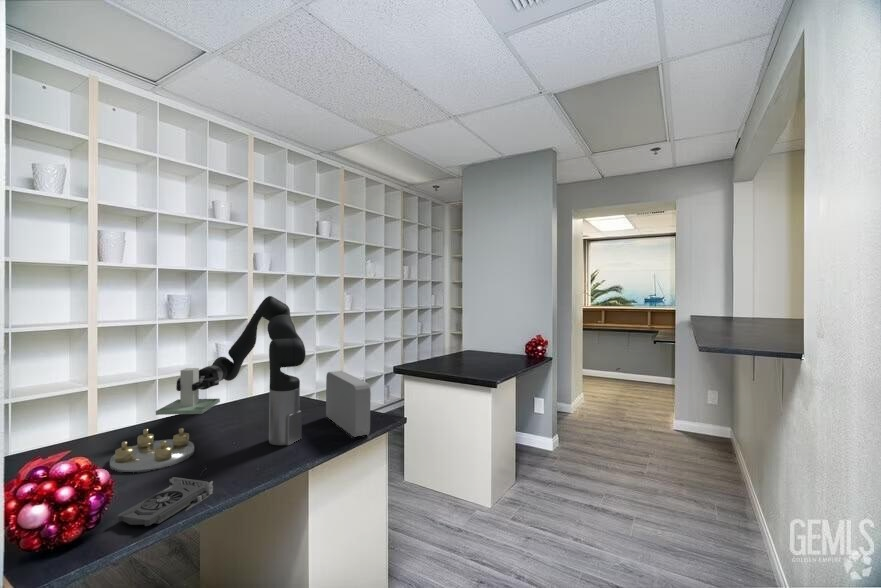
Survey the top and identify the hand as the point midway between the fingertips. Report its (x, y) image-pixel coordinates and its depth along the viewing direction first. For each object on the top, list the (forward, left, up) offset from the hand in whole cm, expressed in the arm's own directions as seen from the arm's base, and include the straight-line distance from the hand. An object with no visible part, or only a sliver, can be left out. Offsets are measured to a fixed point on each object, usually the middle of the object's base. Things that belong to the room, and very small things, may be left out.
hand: (185, 387), depth 136 cm
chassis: (-8, +15, -16) cm, 24 cm away
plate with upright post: (+1, -2, -8) cm, 8 cm away
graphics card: (-38, +32, -17) cm, 52 cm away
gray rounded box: (-43, -31, -16) cm, 55 cm away
